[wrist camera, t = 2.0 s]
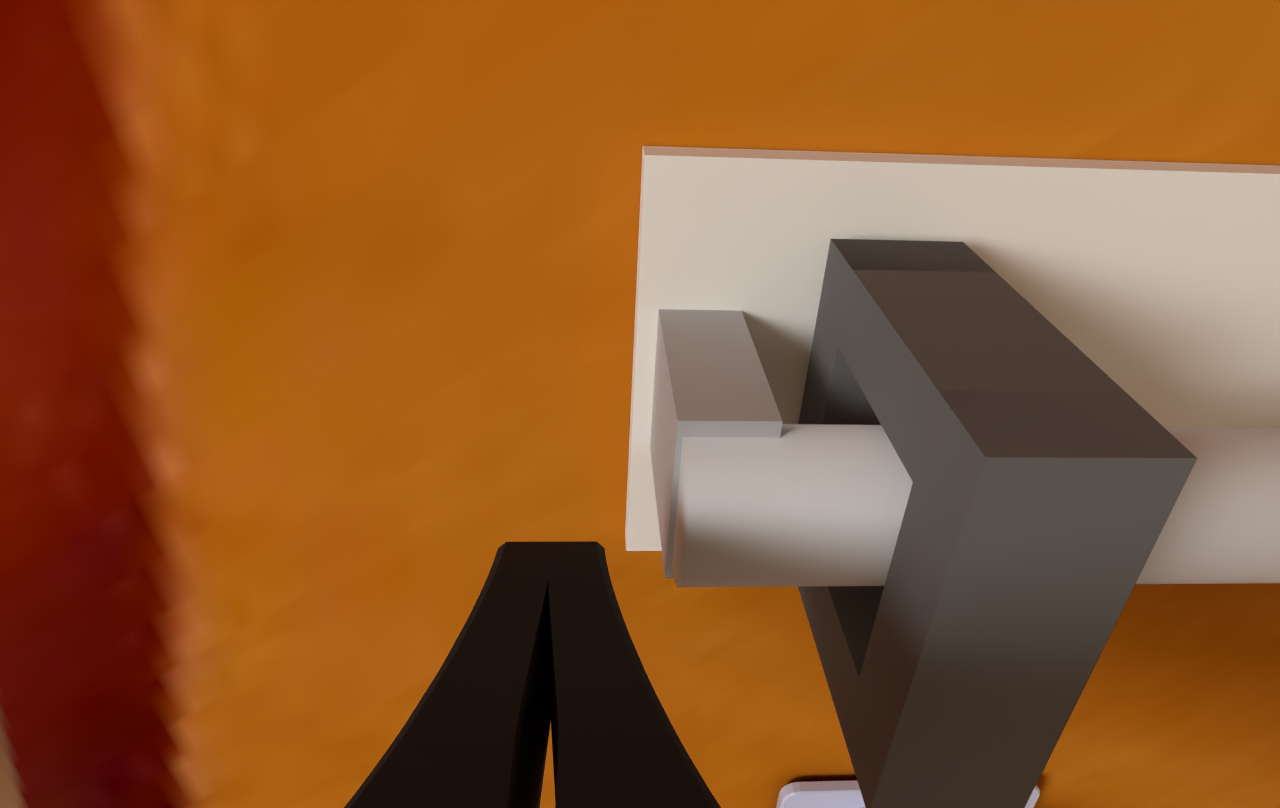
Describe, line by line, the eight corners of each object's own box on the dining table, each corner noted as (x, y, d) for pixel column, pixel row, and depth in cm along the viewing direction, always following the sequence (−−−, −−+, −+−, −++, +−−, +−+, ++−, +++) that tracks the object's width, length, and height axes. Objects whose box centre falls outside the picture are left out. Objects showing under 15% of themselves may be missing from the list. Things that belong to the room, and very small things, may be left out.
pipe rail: (1758, 180, 16) (2293, 310, 11) (1488, 531, 21) (1776, 734, 16) (642, 145, 15) (671, 279, 10) (625, 533, 19) (638, 760, 14)
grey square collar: (963, 241, 15) (1197, 458, 9) (887, 527, 18) (1022, 811, 12) (830, 238, 14) (986, 457, 9) (780, 527, 18) (868, 816, 12)
